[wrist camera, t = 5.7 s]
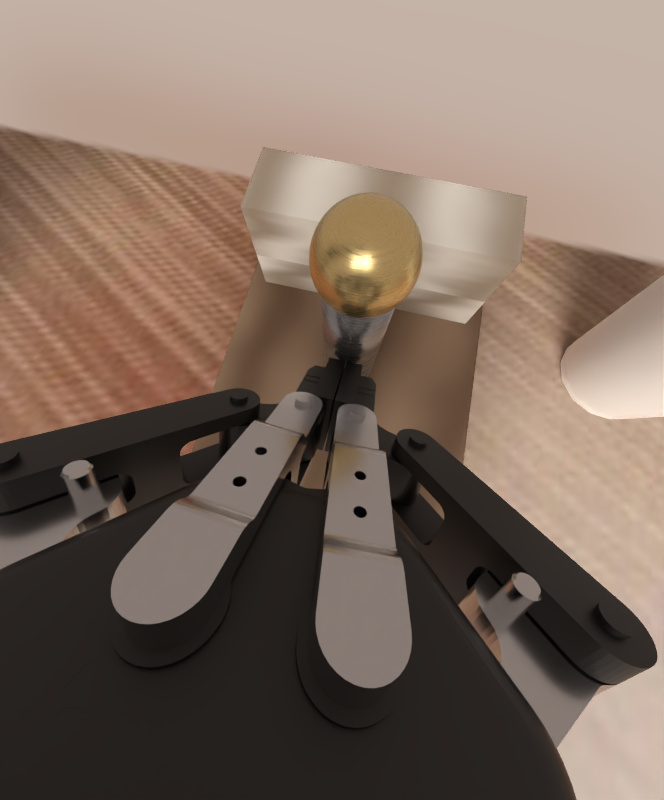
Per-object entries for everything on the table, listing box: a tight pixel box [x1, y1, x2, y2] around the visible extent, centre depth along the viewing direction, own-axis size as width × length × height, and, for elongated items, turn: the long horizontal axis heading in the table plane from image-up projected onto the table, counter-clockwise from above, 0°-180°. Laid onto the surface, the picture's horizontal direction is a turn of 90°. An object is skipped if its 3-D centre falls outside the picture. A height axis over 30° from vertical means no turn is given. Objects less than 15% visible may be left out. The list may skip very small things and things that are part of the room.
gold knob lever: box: [309, 192, 423, 377], centre depth 13 cm, size 3×9×12 cm, turn 167°
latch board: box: [192, 147, 527, 519], centre depth 17 cm, size 16×18×8 cm
